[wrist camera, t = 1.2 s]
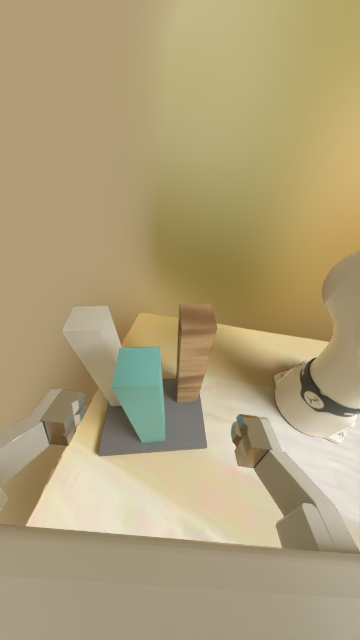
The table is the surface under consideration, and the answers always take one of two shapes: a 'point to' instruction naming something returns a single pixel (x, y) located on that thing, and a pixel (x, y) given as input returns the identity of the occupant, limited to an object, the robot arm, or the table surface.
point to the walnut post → (193, 348)
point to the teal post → (141, 391)
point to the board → (179, 427)
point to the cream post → (95, 345)
